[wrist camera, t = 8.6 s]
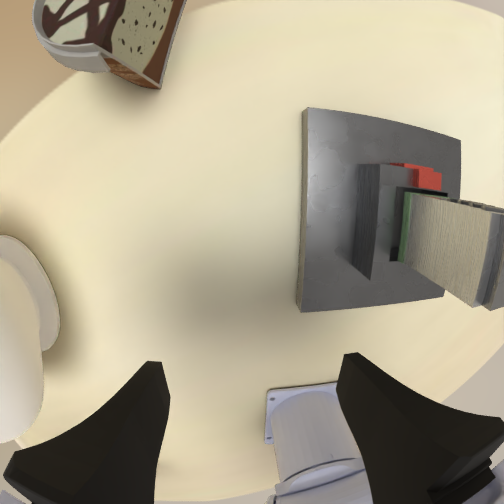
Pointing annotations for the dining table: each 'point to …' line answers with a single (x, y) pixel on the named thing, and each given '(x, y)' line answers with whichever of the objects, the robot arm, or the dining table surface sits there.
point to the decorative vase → (23, 335)
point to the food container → (110, 35)
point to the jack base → (365, 207)
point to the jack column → (455, 246)
